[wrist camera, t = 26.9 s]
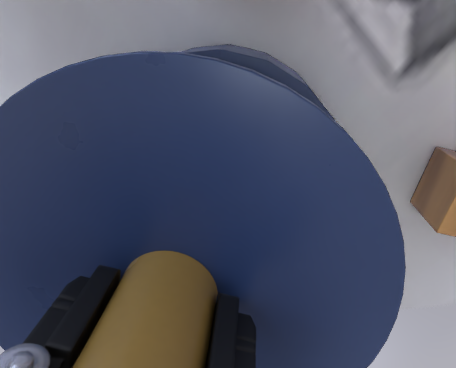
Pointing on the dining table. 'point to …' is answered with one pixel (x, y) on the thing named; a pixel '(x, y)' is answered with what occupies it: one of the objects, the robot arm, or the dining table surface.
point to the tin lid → (194, 214)
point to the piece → (438, 192)
